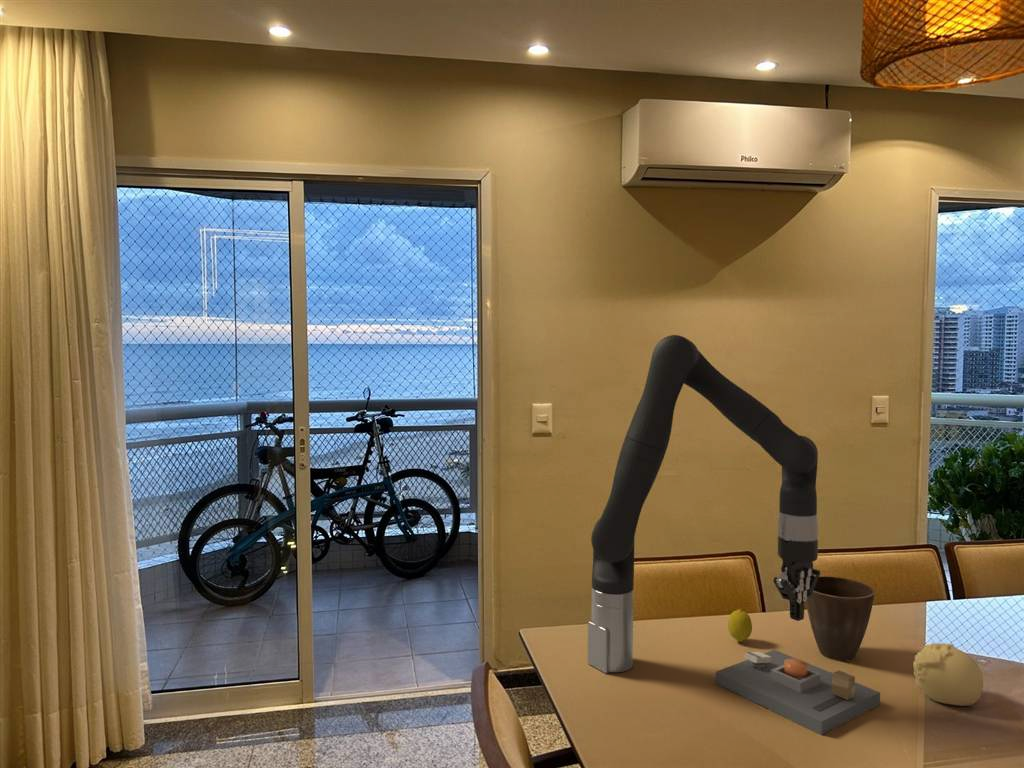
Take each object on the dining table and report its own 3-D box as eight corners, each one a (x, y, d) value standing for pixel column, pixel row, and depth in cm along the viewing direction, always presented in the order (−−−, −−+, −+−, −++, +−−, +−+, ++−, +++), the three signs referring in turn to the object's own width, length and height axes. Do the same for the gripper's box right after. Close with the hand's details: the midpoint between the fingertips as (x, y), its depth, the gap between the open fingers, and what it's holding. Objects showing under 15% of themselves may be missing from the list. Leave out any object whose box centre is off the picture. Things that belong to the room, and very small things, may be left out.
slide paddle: (847, 700, 132) (847, 679, 132) (831, 693, 135) (832, 673, 135) (854, 696, 134) (854, 676, 134) (838, 690, 136) (839, 670, 136)
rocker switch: (756, 663, 145) (757, 656, 146) (744, 658, 148) (745, 651, 148) (770, 662, 148) (771, 656, 148) (758, 657, 151) (759, 651, 151)
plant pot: (866, 675, 149) (867, 602, 149) (794, 657, 158) (795, 588, 158) (878, 652, 161) (880, 584, 161) (811, 636, 170) (812, 572, 170)
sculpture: (917, 679, 147) (918, 629, 147) (985, 697, 140) (986, 644, 139) (907, 699, 139) (908, 646, 138) (979, 719, 131) (980, 663, 131)
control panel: (821, 735, 125) (821, 710, 125) (715, 683, 145) (715, 662, 145) (879, 704, 136) (880, 682, 136) (774, 660, 156) (774, 641, 156)
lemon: (753, 647, 163) (753, 614, 163) (728, 645, 164) (729, 612, 164) (750, 638, 169) (750, 606, 168) (726, 636, 170) (727, 604, 170)
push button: (798, 679, 138) (799, 670, 138) (779, 671, 141) (779, 662, 141) (811, 674, 140) (811, 664, 140) (792, 666, 144) (792, 656, 144)
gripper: (800, 526, 147) (799, 607, 147) (761, 535, 139) (760, 620, 140) (833, 533, 140) (832, 618, 141) (794, 543, 133) (793, 632, 134)
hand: (796, 619), depth 140 cm, fingers closed
